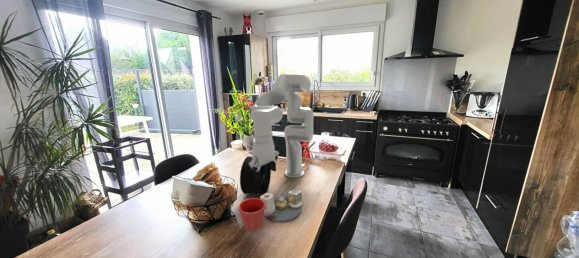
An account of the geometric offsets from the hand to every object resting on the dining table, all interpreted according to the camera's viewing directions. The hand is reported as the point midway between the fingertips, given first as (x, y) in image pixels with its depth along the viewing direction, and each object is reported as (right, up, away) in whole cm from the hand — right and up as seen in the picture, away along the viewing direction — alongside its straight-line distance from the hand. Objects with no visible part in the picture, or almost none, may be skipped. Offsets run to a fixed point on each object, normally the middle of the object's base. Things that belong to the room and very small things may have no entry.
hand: (265, 174), depth 102 cm
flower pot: (-5, -21, -4) cm, 22 cm away
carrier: (+7, -18, +6) cm, 20 cm away
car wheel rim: (-7, -14, +22) cm, 27 cm away
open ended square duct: (0, -17, +4) cm, 18 cm away
